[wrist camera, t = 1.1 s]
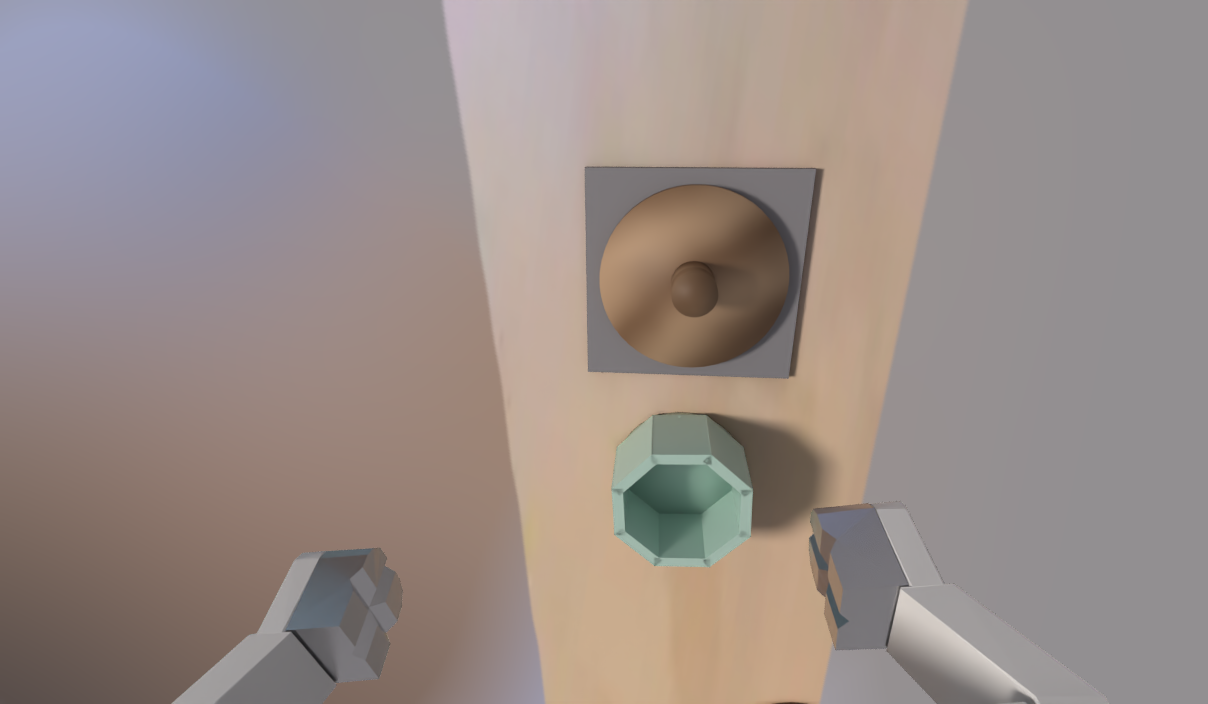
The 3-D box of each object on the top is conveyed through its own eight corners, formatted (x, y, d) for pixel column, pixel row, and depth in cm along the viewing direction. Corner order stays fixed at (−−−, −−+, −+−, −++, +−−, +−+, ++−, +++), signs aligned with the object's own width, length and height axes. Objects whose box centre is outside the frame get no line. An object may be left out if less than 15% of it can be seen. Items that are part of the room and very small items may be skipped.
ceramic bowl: (768, 466, 48) (781, 514, 43) (679, 535, 52) (682, 587, 46) (678, 388, 46) (681, 428, 41) (593, 465, 50) (584, 512, 44)
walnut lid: (827, 274, 41) (842, 291, 38) (692, 395, 46) (694, 419, 42) (692, 141, 39) (695, 145, 35) (563, 282, 43) (554, 299, 40)
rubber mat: (787, 375, 45) (788, 378, 44) (588, 368, 46) (588, 371, 46) (814, 168, 39) (816, 169, 38) (585, 166, 40) (584, 167, 40)
